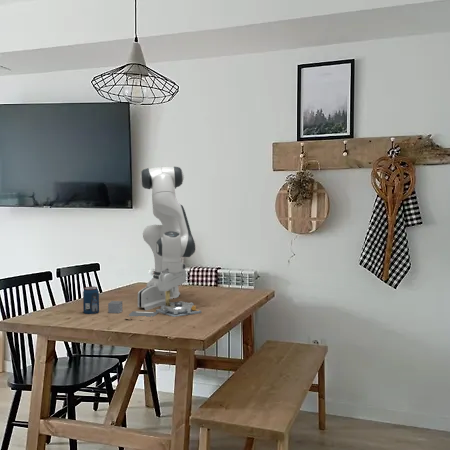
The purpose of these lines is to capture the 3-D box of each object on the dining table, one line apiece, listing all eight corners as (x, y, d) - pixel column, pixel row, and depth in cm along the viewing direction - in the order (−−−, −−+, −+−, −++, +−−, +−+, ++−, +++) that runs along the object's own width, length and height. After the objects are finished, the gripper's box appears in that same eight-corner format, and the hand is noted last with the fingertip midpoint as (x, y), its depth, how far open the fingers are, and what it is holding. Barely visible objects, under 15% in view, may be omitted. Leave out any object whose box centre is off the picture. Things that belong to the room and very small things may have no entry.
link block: (119, 314, 234) (107, 314, 234) (122, 311, 239) (111, 311, 239) (118, 303, 233) (107, 303, 234) (122, 301, 238) (111, 300, 239)
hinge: (145, 310, 240) (143, 289, 240) (137, 310, 243) (135, 289, 242) (168, 303, 254) (166, 283, 254) (160, 303, 257) (158, 283, 256)
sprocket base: (155, 311, 238) (155, 309, 238) (182, 306, 248) (182, 304, 248) (174, 318, 227) (174, 316, 227) (201, 313, 236) (201, 310, 236)
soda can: (88, 311, 239) (87, 285, 238) (102, 312, 237) (101, 286, 236) (80, 315, 232) (79, 288, 231) (94, 316, 230) (93, 289, 229)
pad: (124, 320, 224) (124, 318, 224) (132, 312, 236) (132, 310, 236) (151, 321, 223) (151, 319, 223) (158, 313, 235) (158, 311, 235)
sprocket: (157, 313, 230) (157, 295, 229) (164, 304, 246) (164, 287, 245) (193, 314, 229) (193, 295, 228) (197, 305, 245) (197, 288, 244)
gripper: (167, 271, 227) (167, 302, 228) (187, 264, 245) (187, 292, 247) (154, 270, 229) (154, 301, 231) (176, 263, 248) (176, 291, 249)
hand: (172, 296), depth 239 cm, fingers closed
